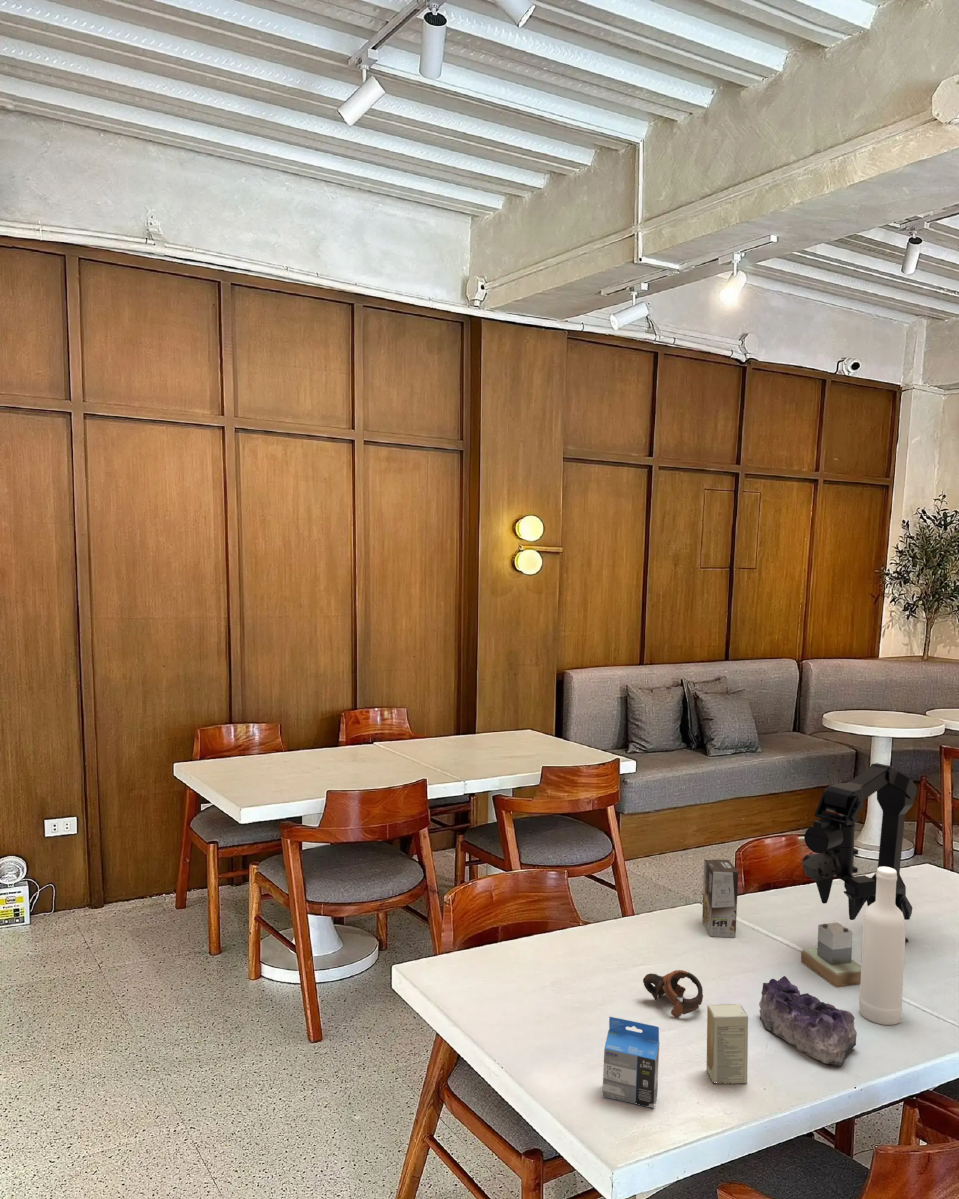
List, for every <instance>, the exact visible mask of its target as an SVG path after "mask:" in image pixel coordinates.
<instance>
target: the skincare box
mask: <svg viewBox="0 0 959 1199" xmlns="http://www.w3.org/2000/svg"><path fill="white" fill-rule="evenodd" d="M706 1008H707V1011H706V1012H707V1015H706V1016H707V1018H706V1072H707V1071H708V1072H707V1074H708V1073H709V1074H708V1076H709V1075H710V1077H709V1078H711V1079H712V1081H713V1082H715V1083H716V1082H717V1083H724V1085H726V1084H727V1083H728V1084H729V1083H731V1084H748V1053H749V1052H748V1051H749V1049H748V1046H749V1043H748V1040H749V1036H748V1035H749V1015H748V1014H747V1012H746V1011H745V1009H744V1007H743V1005H741V1004H740V1003H739V1004H737V1003H732V1004H729V1003H728V1004H727V1003H724V1004H722V1003H721V1004H707V1006H706ZM711 1079H710V1080H711ZM712 1081H711V1082H712Z"/></svg>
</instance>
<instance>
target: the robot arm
mask: <svg viewBox="0 0 959 1199" xmlns="http://www.w3.org/2000/svg"><path fill="white" fill-rule="evenodd" d="M875 793H876V801H877V802H878V804H879V806H880V808H881V810H882V817H881V818H882V819H881V826H880V827H881V829H880V839H879V847H878V848H879V850H878V861H877V868H879V867H882V866H884V867H890V868H893V869H895V870H896V871H897V881H896V899H895V905H896V906H897V907H898V908H899V909H900V910H901V911H902V913H903V916H904V919H905V921H906V920H907V921H909V920H911V916H912V914H913V906H912V904H911V903H910V901H909V899H908V897H907V893H906V892H907V890H906V889H907V886H906V885H905V882H904V880H903V879H902V876H901V874H900V871H901V863H902V862H901V859H902V849H903V842H904V841H903V840H904V830H905V828H904V827H905V817H906V814H907V812H908V811H909V810H910V809H912V807H913V806H914V802H915V798H916V796H917V793H918V787H917V785H916V784H915V783H914V781H913V779H912V778H910V777H908V776H906V775H905V774H903V773H901V772H900V771H898V770H897V768H895V767H893V766H892V765H888V764H882V763H880V762H879V763H878V762H876V763H871V764H870V766H869V768H867V769H866V770H865V771H863V772H862V773H860V774H858V775H857V776H855V777H854V778H853V779H851V780H850V781H848V782H847V781H846V782H838V783H837V782H836V783H833V784H831V785H829V786H827V787H826V789H824V791H823V792H822V795H821V797H820V800H819V802H818V805H817V807H816V810H815V813H814V818H817V819H816V820H813V823H812V824H813V825H812V826H810V827H809V828H807V829H806V830H805V833H804V835H803V839H804V843H805V845H806V847H807V848H808V849H809V850H810V851H811V852H813V853H812V854H805V856H804V857H803V858H802V864H801V865H802V868H803V870H804V873H805V876H806V877H807V878H810V879H811V880H813V881H814V882H815V884H816V888H817V891H818V893H819V897H820V901H821V903H822V904H827V903H828V901H829V897H830V894H831V888H832V886H833V882H834V878H837V879H840V880H841V881H843V882H844V883H843V885H844V886H843V887H844V889H845V890H843V893H844V895H845V896H846V897H847V898H848V900H847V901H848V903H847V904H848V917H849V920H851V921H854V920H855V919H856V918H857V916H858V915H859V913H860V911H862V910H861V909H863V906H864V904H865V903H866V906H867V907H868V906H869V905H871V904H872V903H874V902H875V901H876V880H877V878H876V873H877V871H876V872H875V873H874V874H873V875H872V876H871V877H869V876H867V875H858V876H857V875H856V876H854V875H853V874H856V873H858V872H859V871H858V870H859V869H858V867H856V866H854V861H855V860H854V859H855V857H854V856H856V855H859V849H857V848H855V832H856V831H855V829H856V826H855V824H856V823H857V822H859V820H860V819H859V817H858V815H859V813H860V812H861V810H863V808H864V804H863V802H864V801H865V800H866V799H867V798H869V797H870V796H872V795H873V794H875ZM908 942H909V939H908V938H907V937H905V943H908Z"/></svg>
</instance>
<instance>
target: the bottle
mask: <svg viewBox="0 0 959 1199" xmlns="http://www.w3.org/2000/svg"><path fill="white" fill-rule="evenodd" d="M876 872H877V873H876ZM876 872H875V873H876V878H877V880H876V901H875V902H874V903H872V904H871V905H869V906H867V907H866V910H865V911H864V914H863V918H862V919H863V920H862V922H863V923H862V940H861V941H862V942H861V946H862V947H861V962H860V965H861V982H860V984H859V986H860V987H859V989H860V990H859V996H858V1005H859V1006H858V1008H859V1009H858V1010H859V1011H858V1012H859V1013H860V1015H861V1016H862V1017H863V1018H865V1019H866V1020H868V1021H870V1022H872V1023H874V1024H875V1023H876V1024H879V1025H885V1026H894V1025H897V1024H899V1023H900V1022H901V1021H902V1015H903V993H904V992H903V989H904V987H903V986H904V969H905V968H904V966H905V954H906V953H905V952H906V951H905V950H906V949H905V948H906V942H905V938H906V930H907V927H906V926H907V924H906V920H905V919H904V916H903V913H902V911H901V910H900V909H899V908H898V907H897V906H896V905H895V899H896V881H897V871H896V870H895V869H893V868H890V867H884V866H882V867H879V868H878V867H876Z"/></svg>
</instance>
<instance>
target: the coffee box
mask: <svg viewBox="0 0 959 1199" xmlns="http://www.w3.org/2000/svg"><path fill="white" fill-rule="evenodd" d="M702 880H703V882H702V889H703V890H702V923H703V926H704V927H705V929H706V931H707V932H708V935H710V937H716V938H717V937H719V938H720V937H721V938H736V937H737V936H736V934H737V915H738V913H737V911H738V889H739V888H738V887H739V886H738V885H739V871H738V870H737V868H736V867H735V866H734V865H733V864H732V863H731V861H730V860H729V859H704V860H703V878H702Z"/></svg>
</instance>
